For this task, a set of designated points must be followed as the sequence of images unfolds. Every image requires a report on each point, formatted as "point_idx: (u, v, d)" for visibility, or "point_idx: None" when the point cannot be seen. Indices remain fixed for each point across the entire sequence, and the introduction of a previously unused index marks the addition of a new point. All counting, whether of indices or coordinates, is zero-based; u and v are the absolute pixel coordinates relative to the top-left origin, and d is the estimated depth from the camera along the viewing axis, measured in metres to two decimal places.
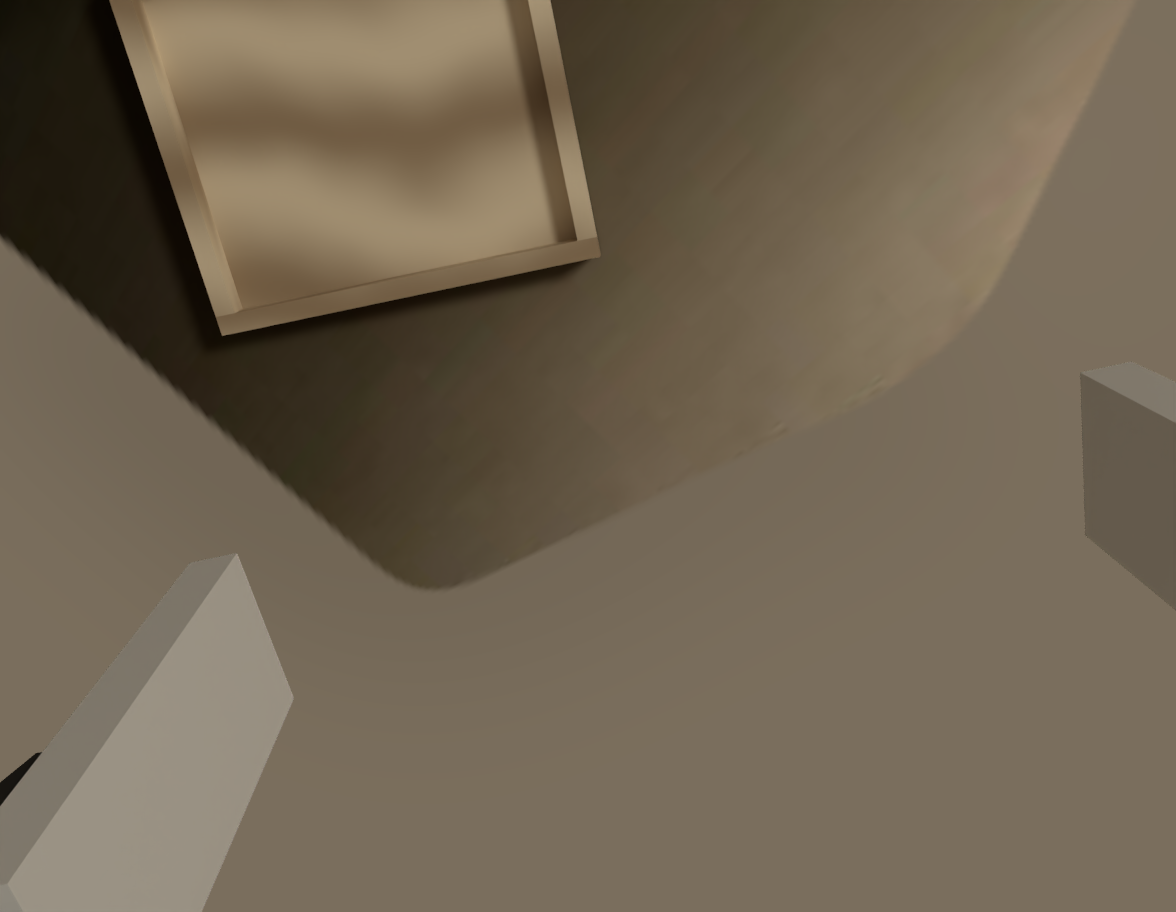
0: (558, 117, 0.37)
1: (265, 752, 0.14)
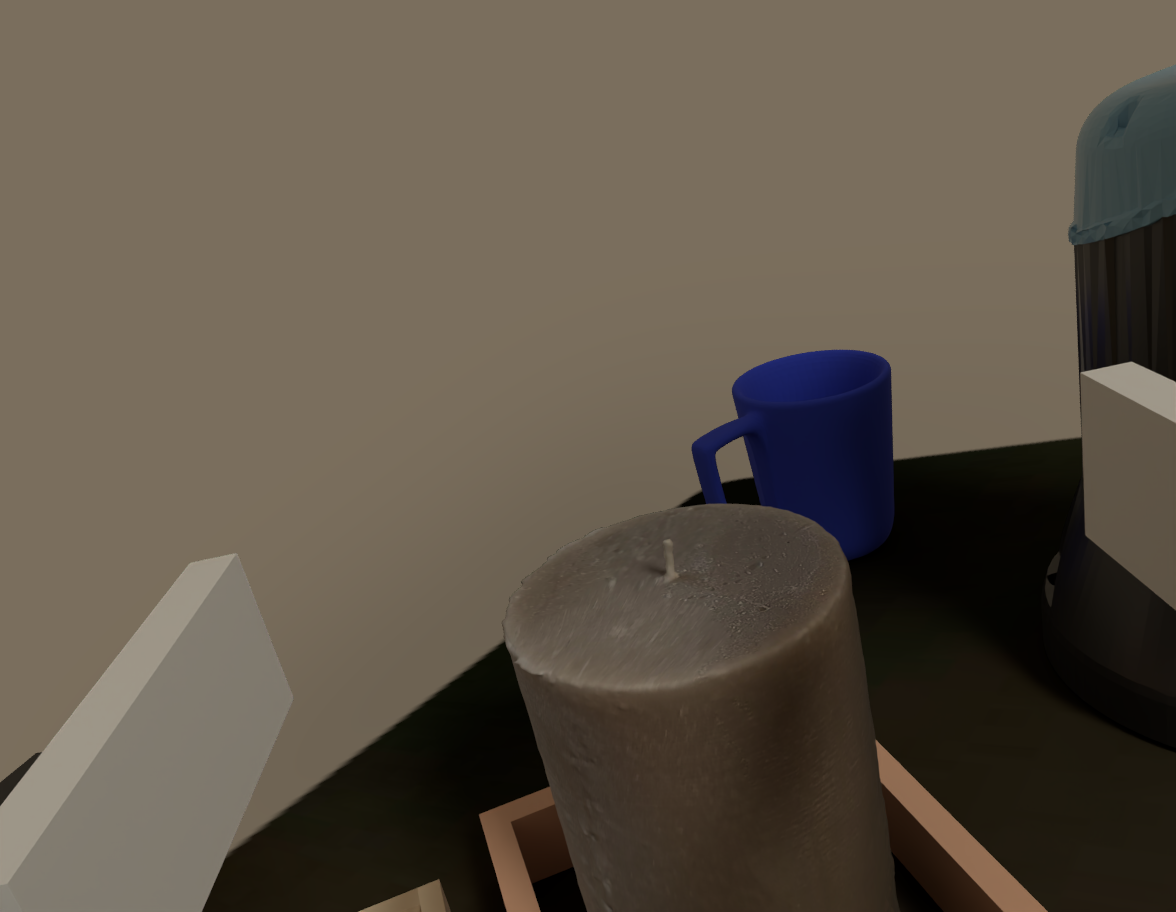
0: None
1: (265, 752, 0.14)
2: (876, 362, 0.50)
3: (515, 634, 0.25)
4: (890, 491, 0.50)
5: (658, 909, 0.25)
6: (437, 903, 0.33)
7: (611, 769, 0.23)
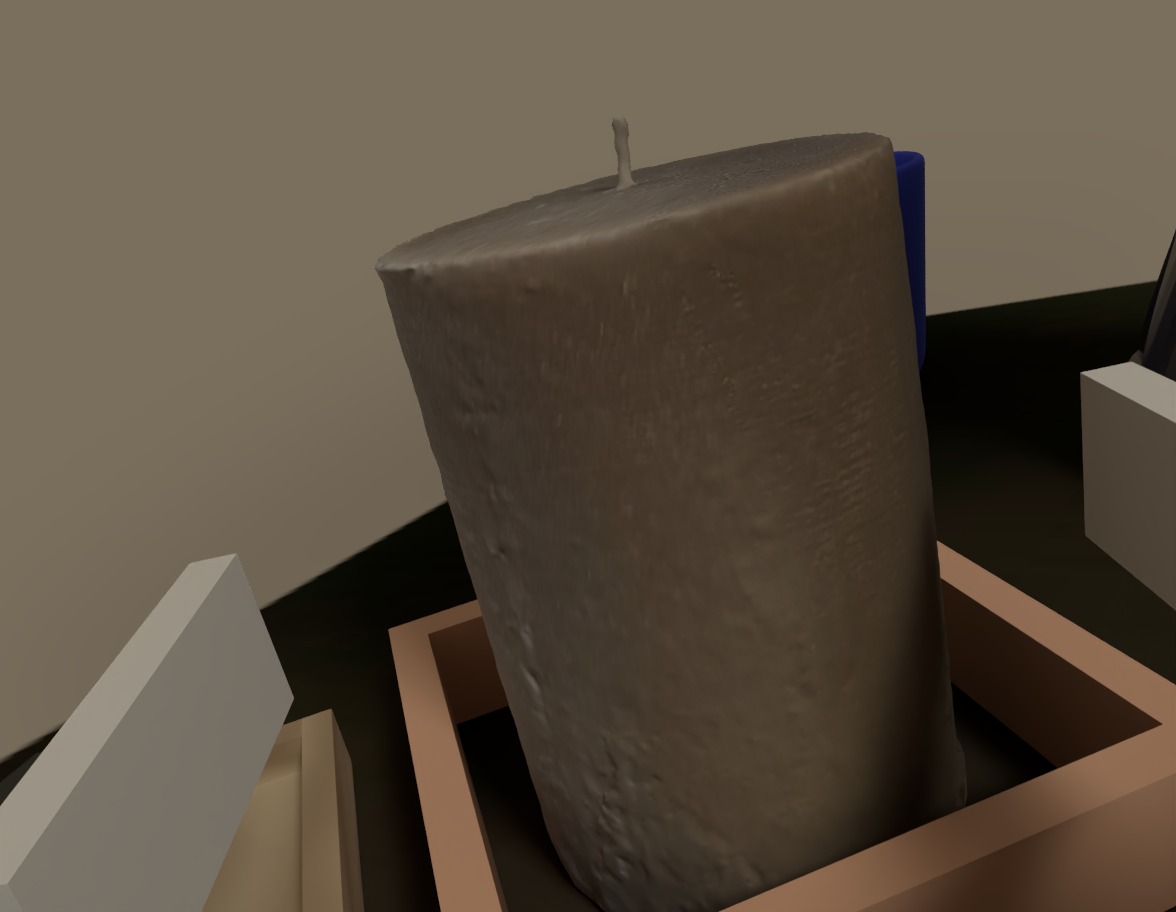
0: None
1: (265, 752, 0.14)
2: (906, 158, 0.42)
3: (390, 255, 0.17)
4: (922, 314, 0.42)
5: (599, 658, 0.16)
6: (324, 733, 0.24)
7: (521, 414, 0.15)
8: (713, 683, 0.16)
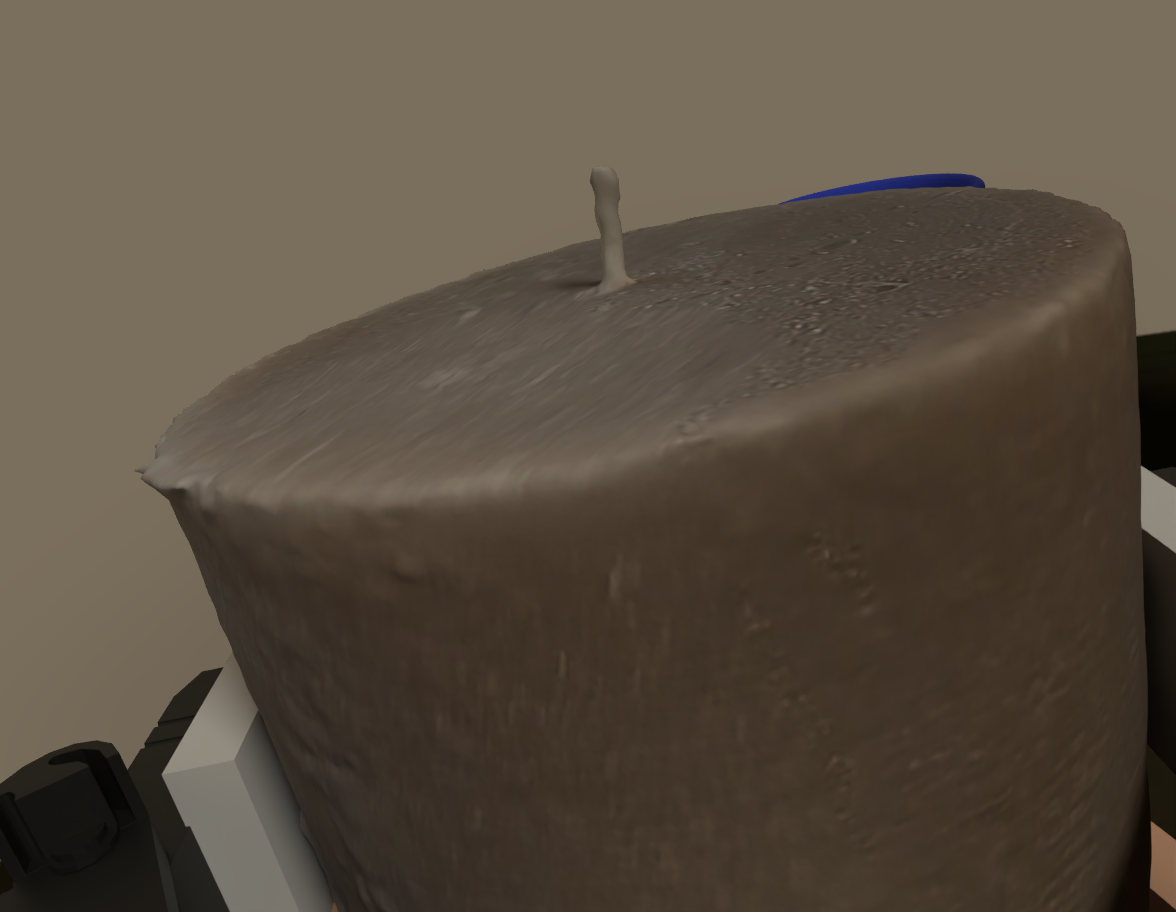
0: None
1: None
2: (959, 182, 0.34)
3: (189, 418, 0.09)
4: None
5: None
6: None
7: (402, 791, 0.07)
8: None
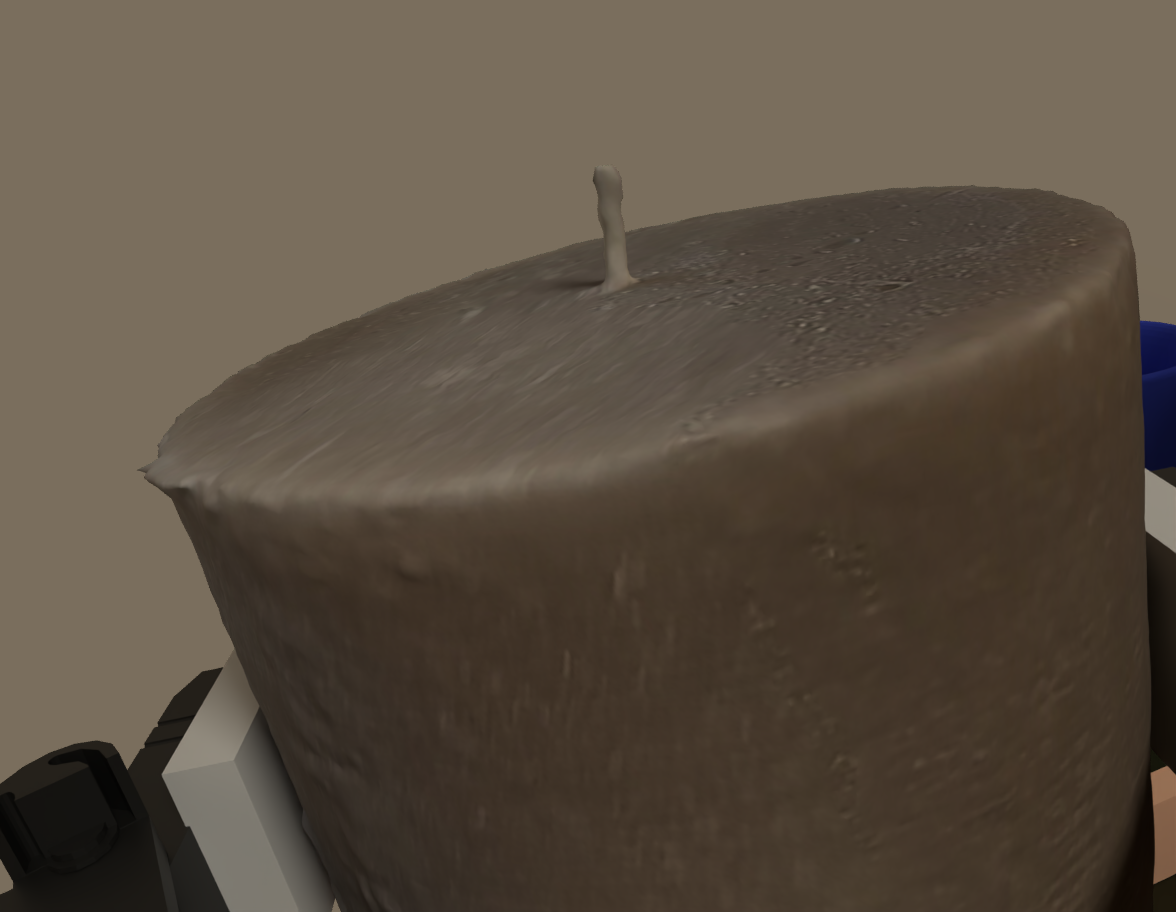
0: None
1: None
2: None
3: (191, 418, 0.09)
4: None
5: None
6: None
7: (404, 791, 0.07)
8: None
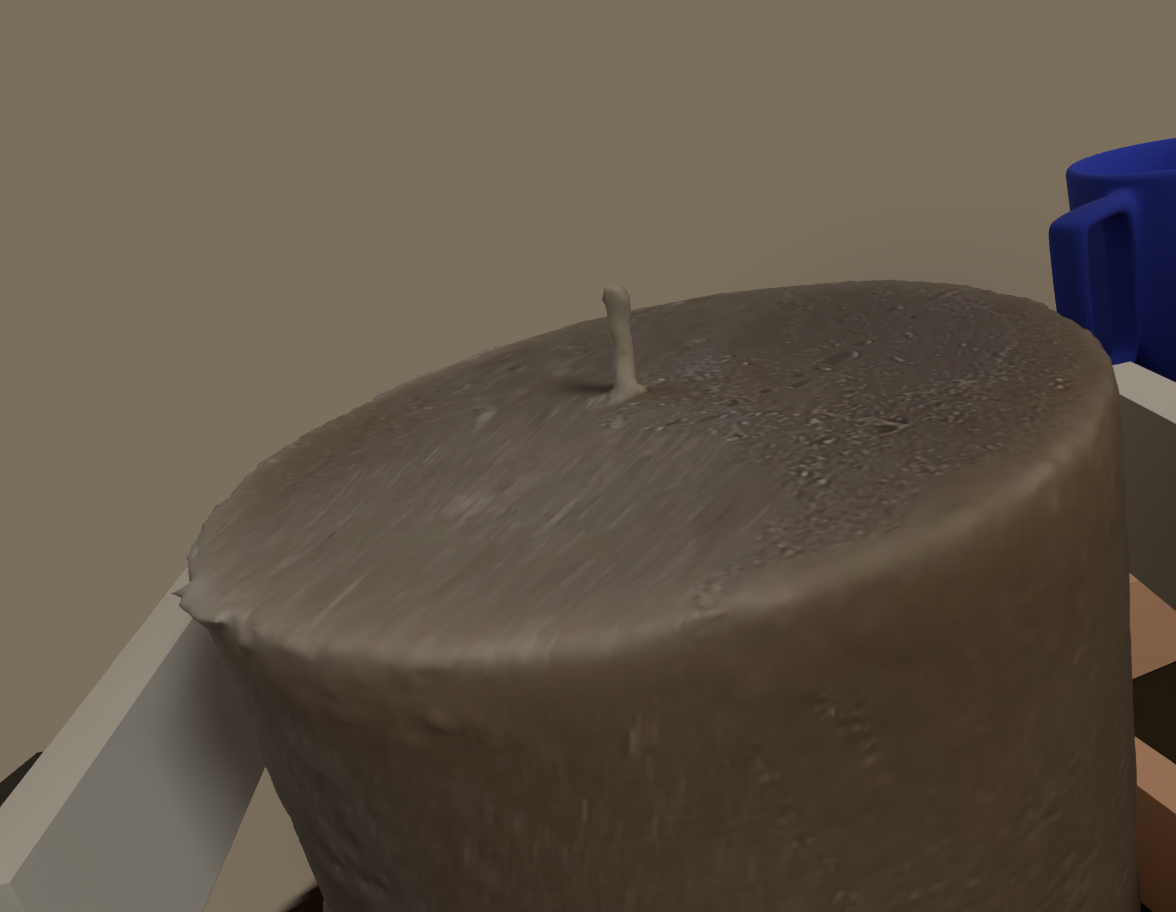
0: None
1: None
2: None
3: (218, 528, 0.10)
4: None
5: None
6: None
7: (429, 911, 0.08)
8: None
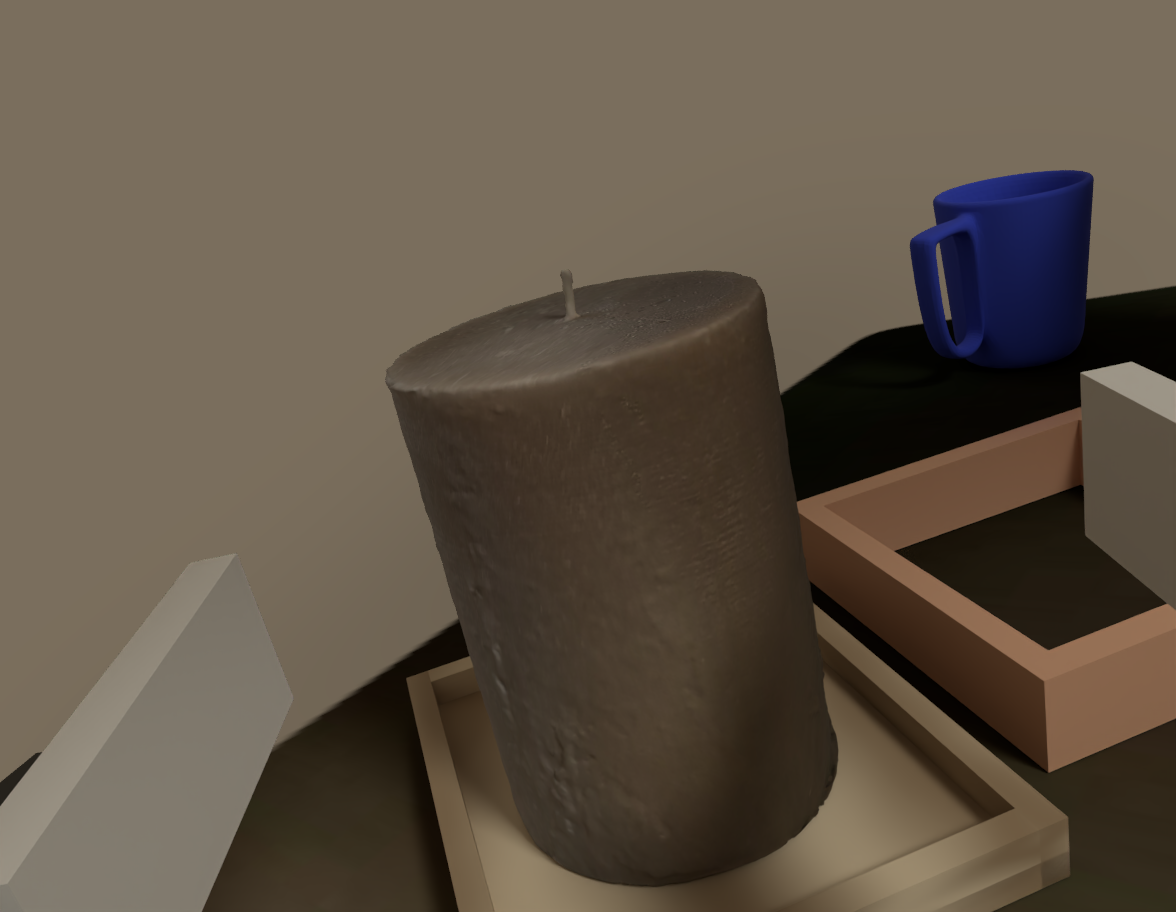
0: None
1: (265, 752, 0.14)
2: (1073, 175, 0.53)
3: (396, 371, 0.23)
4: (1085, 297, 0.53)
5: (549, 669, 0.22)
6: None
7: (491, 495, 0.21)
8: (631, 686, 0.22)
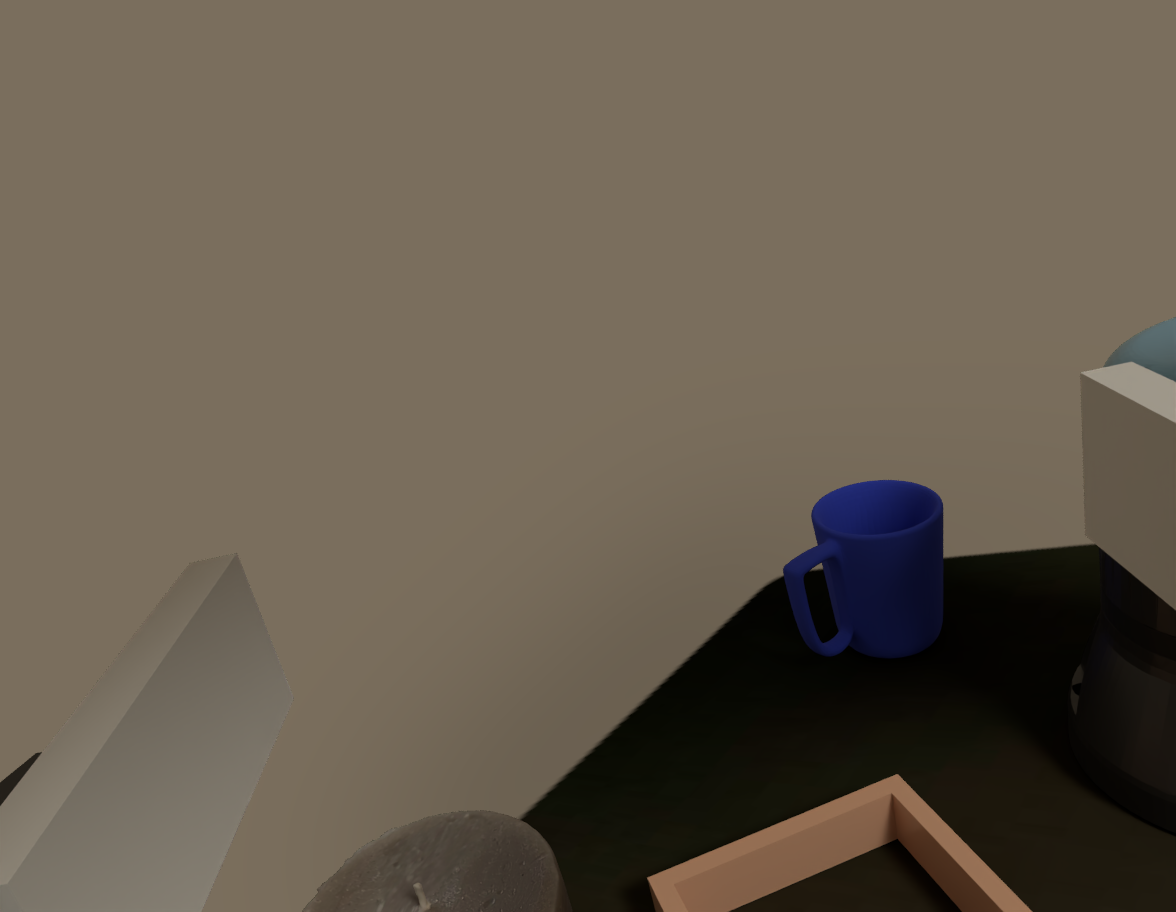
0: None
1: (265, 752, 0.14)
2: (930, 496, 0.62)
3: None
4: (941, 601, 0.62)
5: None
6: None
7: None
8: None
